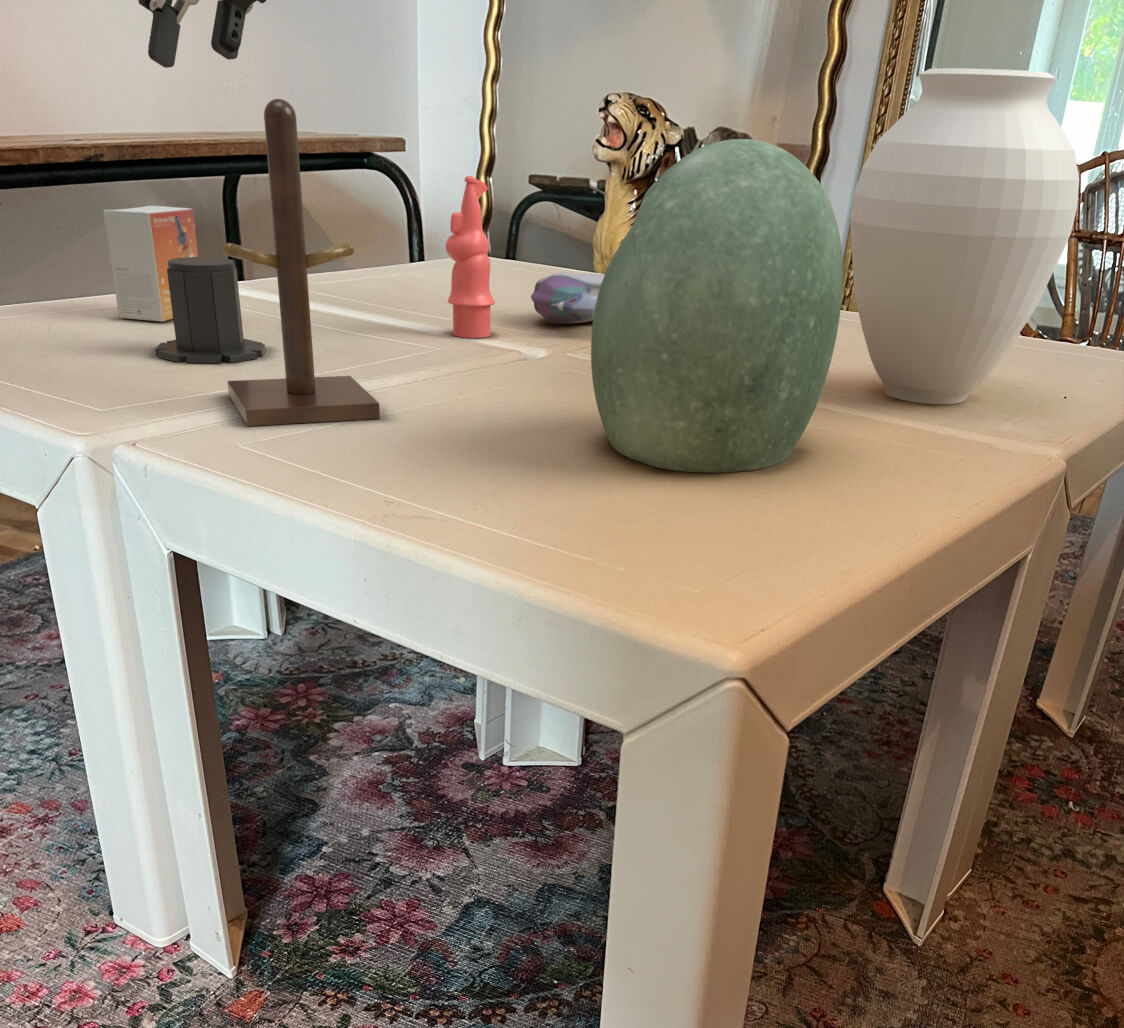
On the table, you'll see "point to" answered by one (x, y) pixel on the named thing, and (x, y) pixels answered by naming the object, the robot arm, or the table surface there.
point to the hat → (206, 313)
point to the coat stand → (294, 301)
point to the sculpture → (719, 312)
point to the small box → (147, 256)
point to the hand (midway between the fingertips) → (191, 59)
